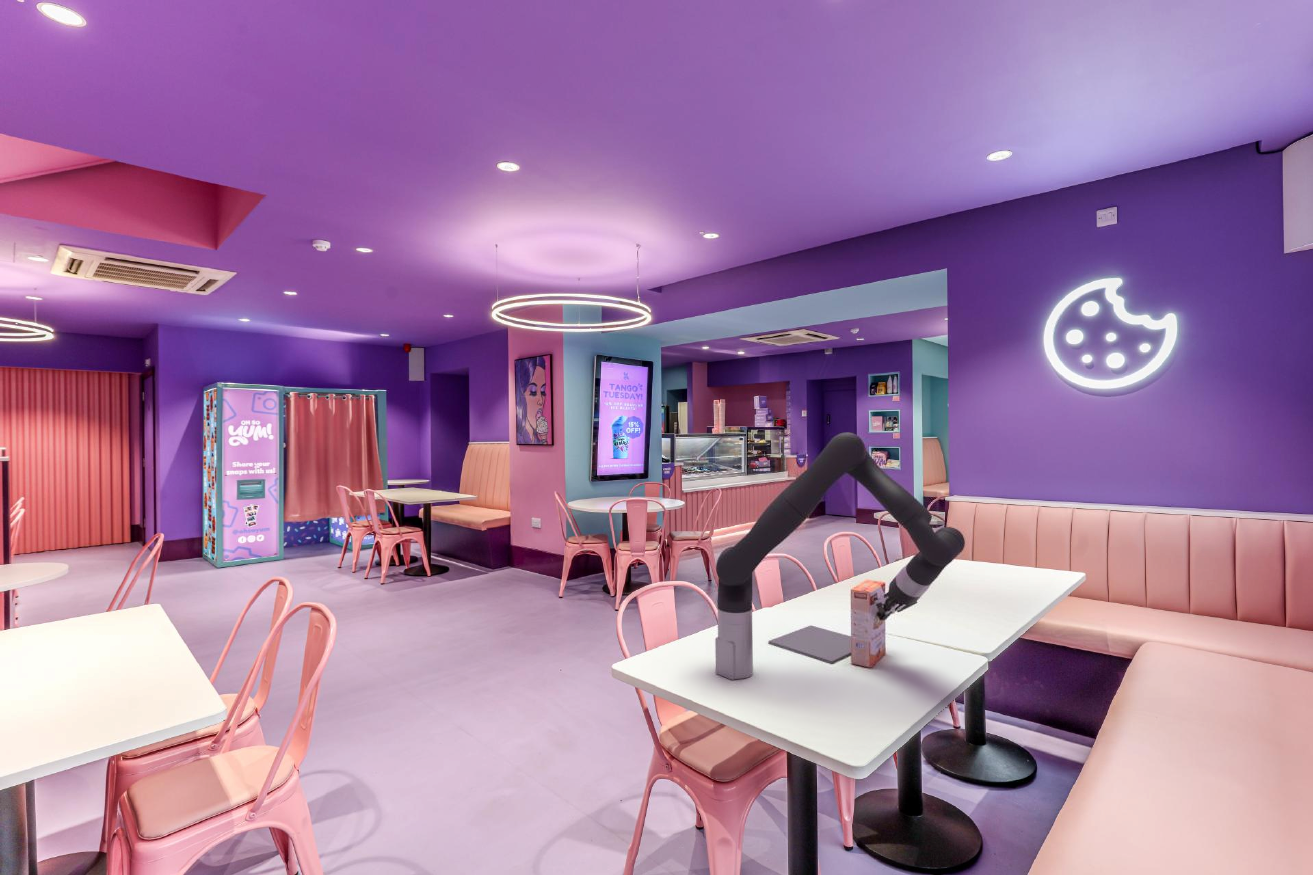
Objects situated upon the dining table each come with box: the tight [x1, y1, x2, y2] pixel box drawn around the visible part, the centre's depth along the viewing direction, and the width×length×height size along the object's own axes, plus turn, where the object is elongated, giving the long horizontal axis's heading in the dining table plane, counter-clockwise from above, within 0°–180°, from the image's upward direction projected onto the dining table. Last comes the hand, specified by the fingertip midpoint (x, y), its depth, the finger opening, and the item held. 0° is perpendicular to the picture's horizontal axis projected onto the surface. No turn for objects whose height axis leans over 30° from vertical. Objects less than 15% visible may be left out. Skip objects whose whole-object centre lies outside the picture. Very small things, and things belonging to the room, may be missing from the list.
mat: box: [767, 625, 851, 665], centre depth 178 cm, size 22×22×1 cm
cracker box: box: [850, 579, 886, 669], centre depth 166 cm, size 14×6×21 cm, turn 143°
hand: (880, 617), depth 162 cm, fingers closed
